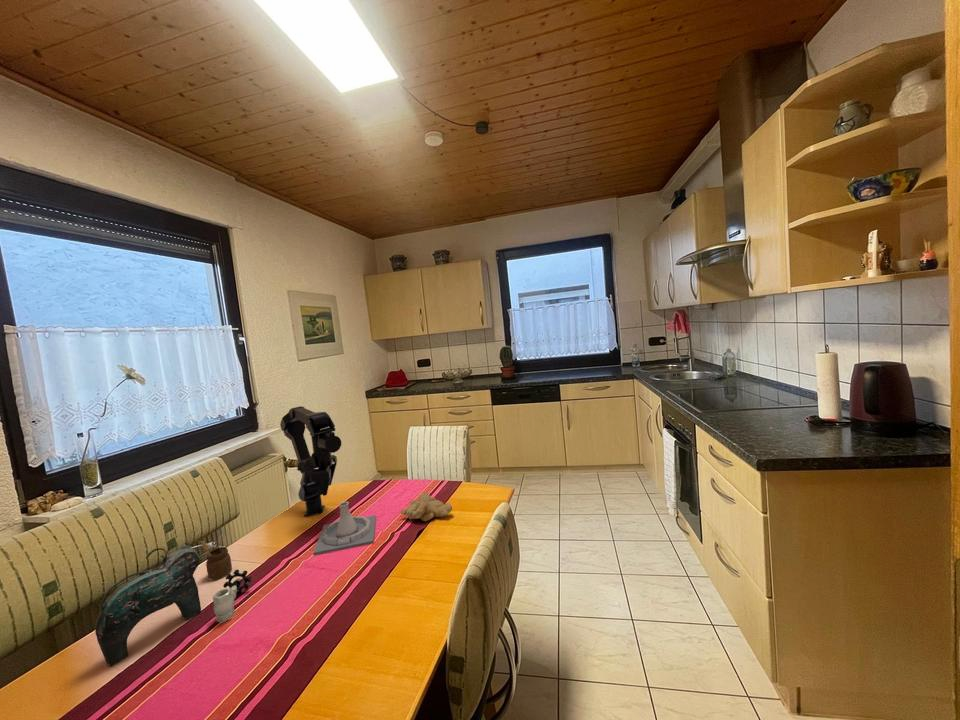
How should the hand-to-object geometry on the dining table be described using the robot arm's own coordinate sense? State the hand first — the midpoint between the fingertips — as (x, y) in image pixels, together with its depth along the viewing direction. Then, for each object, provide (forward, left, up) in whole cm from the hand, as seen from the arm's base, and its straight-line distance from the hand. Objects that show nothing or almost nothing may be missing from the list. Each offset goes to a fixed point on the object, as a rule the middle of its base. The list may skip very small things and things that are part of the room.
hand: (327, 490), depth 139 cm
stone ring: (+12, +7, -12) cm, 18 cm away
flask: (+12, +7, -11) cm, 18 cm away
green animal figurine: (+43, -32, -12) cm, 55 cm away
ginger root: (+9, +33, -12) cm, 37 cm away
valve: (+38, -18, -12) cm, 44 cm away
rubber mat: (+12, +7, -12) cm, 18 cm away
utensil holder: (+21, -28, -12) cm, 37 cm away
